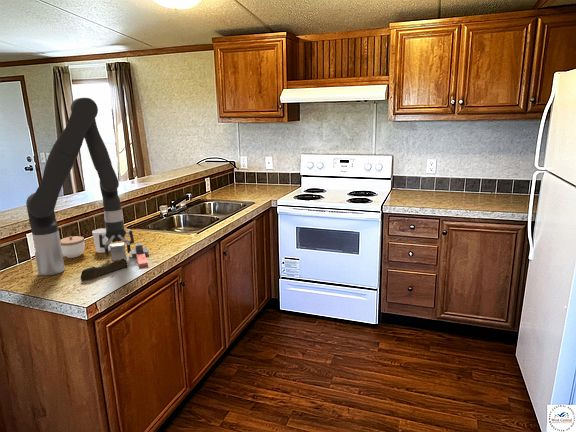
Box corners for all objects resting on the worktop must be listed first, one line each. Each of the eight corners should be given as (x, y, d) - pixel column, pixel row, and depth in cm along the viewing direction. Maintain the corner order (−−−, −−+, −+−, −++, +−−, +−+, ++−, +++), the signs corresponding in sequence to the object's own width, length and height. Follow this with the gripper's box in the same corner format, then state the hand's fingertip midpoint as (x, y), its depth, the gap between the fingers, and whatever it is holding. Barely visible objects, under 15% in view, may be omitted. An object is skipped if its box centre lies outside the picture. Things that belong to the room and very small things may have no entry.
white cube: (112, 260, 178) (110, 248, 176) (111, 256, 183) (109, 244, 181) (126, 258, 180) (124, 246, 179) (125, 254, 185) (124, 242, 184)
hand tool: (123, 266, 172) (122, 255, 171) (128, 268, 169) (127, 257, 168) (78, 280, 158) (76, 269, 157) (83, 282, 156) (81, 271, 154)
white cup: (109, 246, 197) (106, 227, 194) (115, 250, 191) (113, 230, 189) (92, 250, 192) (89, 230, 189) (98, 254, 186) (95, 234, 184)
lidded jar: (82, 258, 181) (79, 238, 179) (56, 260, 179) (53, 240, 177) (89, 250, 191) (86, 232, 189) (65, 252, 190) (62, 233, 187)
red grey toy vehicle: (134, 268, 168) (133, 257, 167) (131, 253, 187) (130, 243, 186) (152, 265, 171) (151, 254, 170) (147, 251, 190) (145, 241, 188)
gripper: (96, 223, 171) (101, 259, 175) (131, 219, 177) (135, 254, 181) (96, 219, 177) (101, 254, 182) (130, 215, 183) (134, 249, 187)
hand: (118, 254), depth 181 cm, fingers open, 8 cm apart
